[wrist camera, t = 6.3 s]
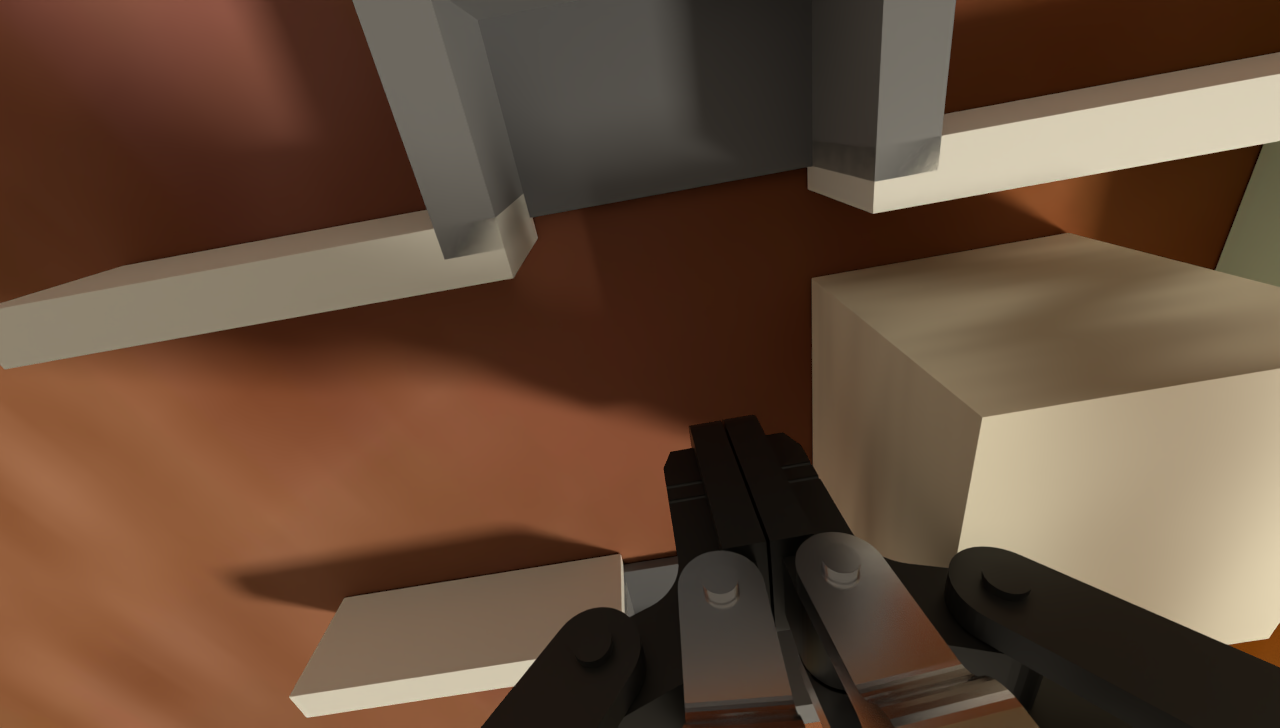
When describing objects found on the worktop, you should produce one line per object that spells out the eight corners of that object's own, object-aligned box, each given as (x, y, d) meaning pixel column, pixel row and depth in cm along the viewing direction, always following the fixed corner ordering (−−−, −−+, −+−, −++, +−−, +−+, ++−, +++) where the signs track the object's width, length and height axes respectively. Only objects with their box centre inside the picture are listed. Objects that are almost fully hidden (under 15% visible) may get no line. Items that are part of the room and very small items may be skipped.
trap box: (1471, -248, 8) (2159, -541, 4) (1124, 577, 17) (1259, 699, 14) (-21, 52, 9) (-450, 9, 5) (404, 687, 18) (352, 829, 14)
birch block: (1068, 233, 11) (1472, 337, 6) (1020, 440, 14) (1268, 638, 9) (811, 278, 12) (982, 417, 6) (812, 474, 14) (932, 688, 9)
